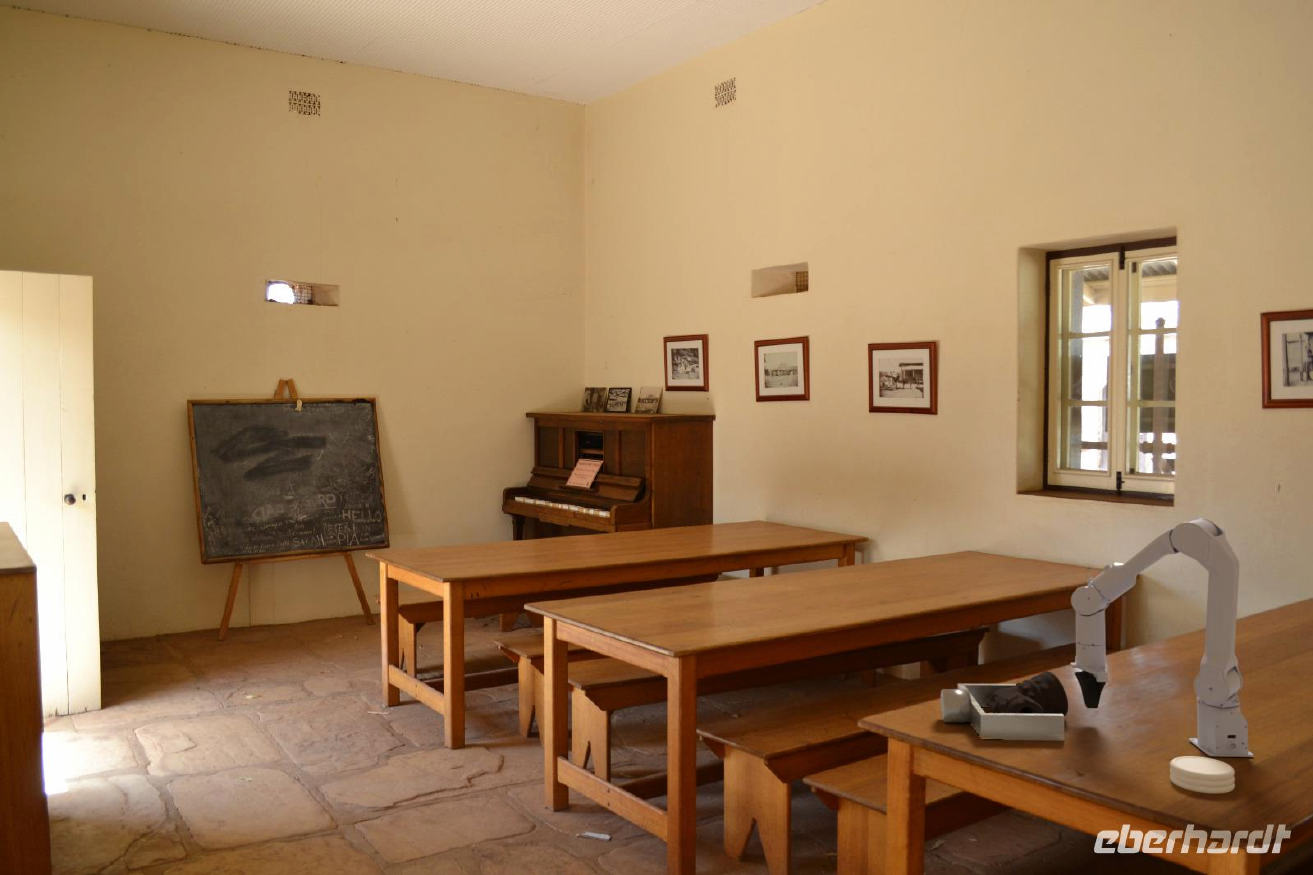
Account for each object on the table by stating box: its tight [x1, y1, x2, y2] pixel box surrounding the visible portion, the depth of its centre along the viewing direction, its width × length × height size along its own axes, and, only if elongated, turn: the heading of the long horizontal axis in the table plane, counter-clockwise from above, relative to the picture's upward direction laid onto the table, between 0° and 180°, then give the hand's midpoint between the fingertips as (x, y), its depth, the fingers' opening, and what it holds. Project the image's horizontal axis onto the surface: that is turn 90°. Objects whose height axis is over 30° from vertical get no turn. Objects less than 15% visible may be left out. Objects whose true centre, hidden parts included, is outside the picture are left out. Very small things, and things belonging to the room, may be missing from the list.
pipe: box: [986, 670, 1069, 718], centre depth 215 cm, size 10×15×15 cm
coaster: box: [1169, 755, 1236, 795], centre depth 177 cm, size 10×10×4 cm
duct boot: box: [940, 683, 1065, 742], centre depth 214 cm, size 23×21×7 cm
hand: (1091, 707), depth 212 cm, fingers closed
